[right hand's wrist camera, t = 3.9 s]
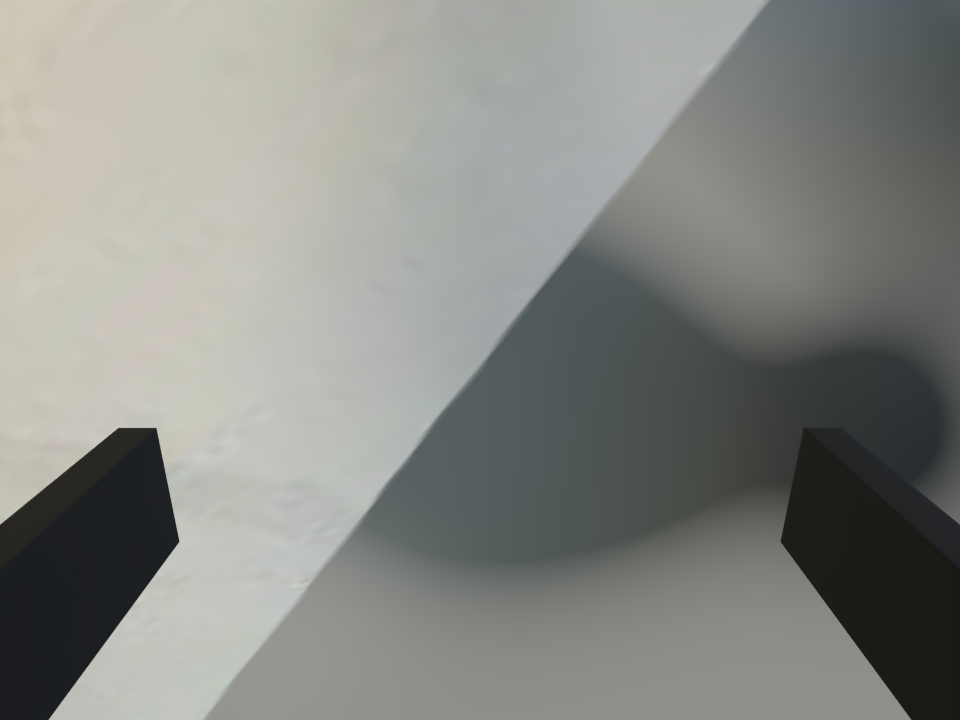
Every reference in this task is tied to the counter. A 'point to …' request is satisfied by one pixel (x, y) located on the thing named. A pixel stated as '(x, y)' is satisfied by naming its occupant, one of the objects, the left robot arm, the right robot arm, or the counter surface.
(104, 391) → the counter surface
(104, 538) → the right robot arm
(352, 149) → the counter surface
